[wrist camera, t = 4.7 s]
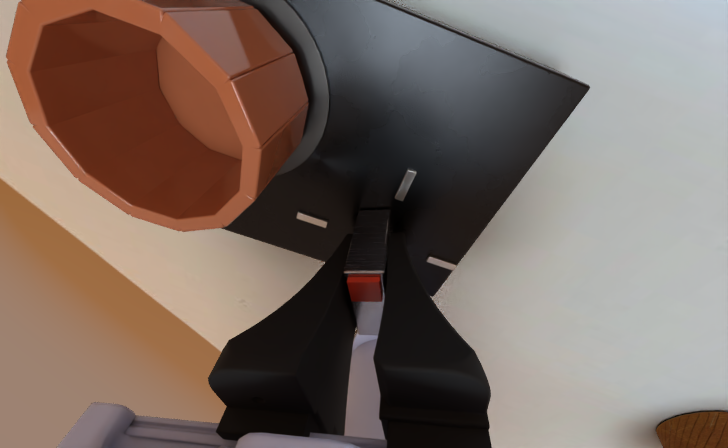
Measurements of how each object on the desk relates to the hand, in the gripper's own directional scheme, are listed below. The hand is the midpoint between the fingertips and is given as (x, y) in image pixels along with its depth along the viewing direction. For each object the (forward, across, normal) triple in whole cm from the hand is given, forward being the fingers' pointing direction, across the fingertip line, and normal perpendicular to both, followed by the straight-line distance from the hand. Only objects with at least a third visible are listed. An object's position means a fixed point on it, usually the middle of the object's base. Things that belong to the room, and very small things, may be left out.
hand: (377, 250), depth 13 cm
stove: (+3, +2, -4) cm, 6 cm away
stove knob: (+1, 0, 0) cm, 1 cm away
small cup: (0, +4, -7) cm, 8 cm away
